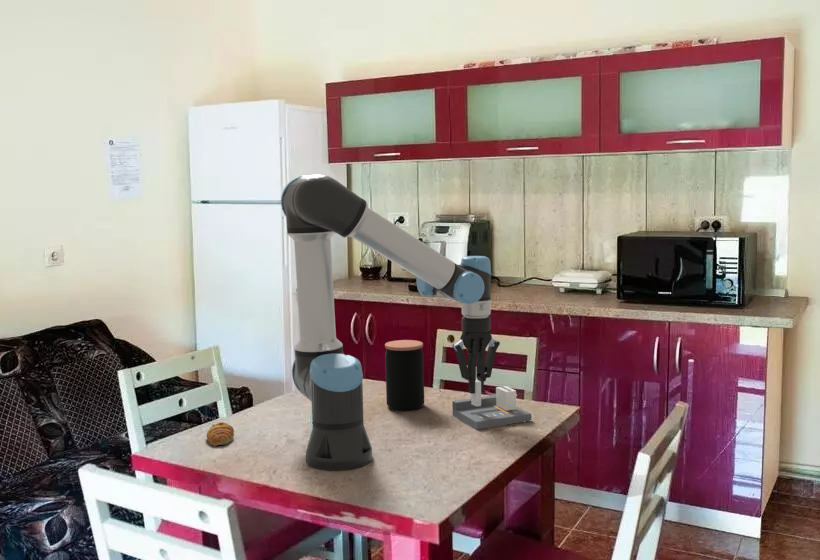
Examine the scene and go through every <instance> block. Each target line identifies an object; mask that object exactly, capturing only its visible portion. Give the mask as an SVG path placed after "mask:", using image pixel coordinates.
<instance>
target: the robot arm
mask: <svg viewBox="0 0 820 560" xmlns="http://www.w3.org/2000/svg"><path fill="white" fill-rule="evenodd" d="M280 205H281V210H282V212H283V214H284V215H285V217H286V218H285V219H286V222H285V223H286V230H287V231H286V234H287V235H288V236H289V237H290V238H291V240H293V243H294V256H295V257H294V258H295V273H296V289H297V290H296V292H297V304H298V305H297V306H298V307H297V308H298V323H299V324H298V325H299V338H300V339H299V341H298V342H297V343H296V344H295V345H294V361H293V363H292V366H291V376H292V381H293V384H294V385H295V387H296V389H297V390H298V392H299V393H300V394H302V395H303V396H304V397H305V398H307V399H308V400H309V401H310V402H311V418H312V419H311V420H312V421H311V423H312V427H311V428H312V429H311V432H310V437H309V439H308V443H307V447H306V450H305V462H306V464H307V465H308V466H309V467H312V468H315V469H318V470H323V471H324V470H325V471H345V470H352V469H356V468H360V467H362V466H365V465H367V464H369V463H370V462H372V460H373V447H372V444H371V442H370V441H371V440H370V438H369V436H368V432H367V430H366V428H365V424H364V420H365V419H364V396H363V395H364V394H363V393H364V390H363V389H364V388H363V378H364V374H363V370H362V364H361V361H360V360H359V359H358V358H356V357H354V356H352V355H350V354H345V353H344V346H343V343H342V341H340V340H339V339H338V338H337V332H336V331H337V330H336V315H335V311H336V310H335V296H334V278H333V277H334V275H333V261H332V260H333V258H332V257H333V256H332V243H331V242H332V241H331V240H332V237H333V236H334V235H335V234H337V235H339V236H341V237H342V238H344V239H345V238H349V237H351V238H352V239H354V240H356V241H358V242H359V243H361V244H362V245H364V246H366V247H368V248H369V249H370V250H373V251H374V252H376V253H377V254H379V255H380V256H382V257H384V258H386V259H387V260H389V261H390V262H392V263H394V264H396V265H397V266H399V267H401V268H402V269H403V270H405V271H407V272H409V273H410V274H411V275H413V276H415V277H416V287H417V291H418V293H419V294H420V296H422V297H430V298H433V297H442V298H445V299H449V300H453V301H455V302H459V303H460V304H461V315H462V317H461V336H460V340H459V341H458V342H456V343H455V342H454V343H452V345H451V347H452V349H453V350H454V351H455V353H456V358H457V359H456V360H457V363H458V367H459V371H460V375H461V378H462V379H464V380H465V381H467V382H468V393H470V395H471V398H470V399H471V404H472V405H474V406H476V407H477V406H481V397H482V393H484V391H485V382H486V381H487V379H490V378H491V377H492V376H491V375H492V373H493V368H494V363H495V359H496V354H497V350H498V349H499V346H500V345H501V343H500V341H498V340H497V339H494V338H493V335H492V333H491V329H492V328H491V327H492V326H491V325H492V323H491V321H492V319H491V316H490V315H491V312H492V311H491V310H492V308H491V307H492V306H491V304H492V303H491V302H492V301H491V300H492V297H491V295H492V293H491V289H492V288H491V287H492V286H491V284H492V270H491V269H492V267H491V265H492V264H491V260H490V258H489V257H487V256H485V255H467V256H462V258H461V260H460V264H457V263H455V262H454V261H453V260H451V259H449V258H448V257H446V256H445V255H443V254H442V253H440V252H439V251H437V250H436V249H434V248H433V247H431V246H429V245H428V244H426V243H425V242H423V241H421V240H420V239H418V238H416V237H415V236H413V235H412V234H410V233H408V232H407V231H405V230H404V229H403V228H401V227H400V226H398V225H396V224H395V223H392V222H391V221H390V220H388V219H386V218H385V217H383V216H382V215H380V214H379V213H377V212H376V211H374V210H373V209H372V208H369V206H368V205H369V204H368V201H367V200H366V199H364V198H362V197H360V196H359V195H357V193H355V192H353V191H352V190H351V189H349V188H348V187H346V186H345V185H344V184H342V183H341V182H339V181H338V180H336V179H334V178H333V177H332V176H329V175H325V174H305V175H300V176H297V177H295V178H293V179H291V181H289V182H288V183H287V184H286V185H285V187H284V189H283V190H282V194H281V195H280ZM464 349H466V354H467V359H466V355H465V352H464ZM486 349H487V351H486Z"/></svg>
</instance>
